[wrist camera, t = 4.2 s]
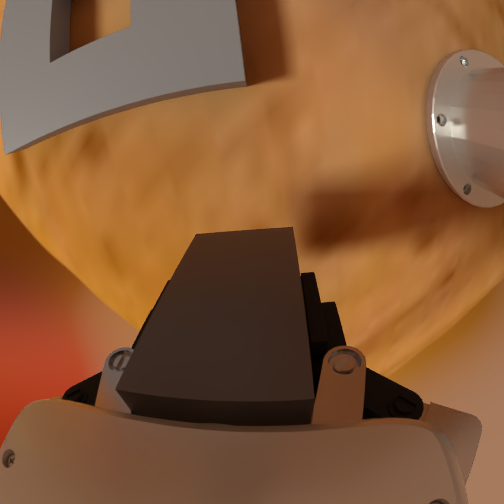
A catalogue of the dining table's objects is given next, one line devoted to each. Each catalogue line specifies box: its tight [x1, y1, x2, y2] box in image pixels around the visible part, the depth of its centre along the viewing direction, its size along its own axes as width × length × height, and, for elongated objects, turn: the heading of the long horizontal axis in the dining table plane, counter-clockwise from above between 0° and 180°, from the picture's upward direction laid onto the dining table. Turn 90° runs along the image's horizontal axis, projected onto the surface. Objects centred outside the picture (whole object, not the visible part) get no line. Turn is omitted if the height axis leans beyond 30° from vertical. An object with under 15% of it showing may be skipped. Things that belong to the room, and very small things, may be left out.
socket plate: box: [0, 0, 247, 155], centre depth 11 cm, size 18×16×2 cm
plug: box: [115, 227, 315, 426], centre depth 10 cm, size 5×5×10 cm
